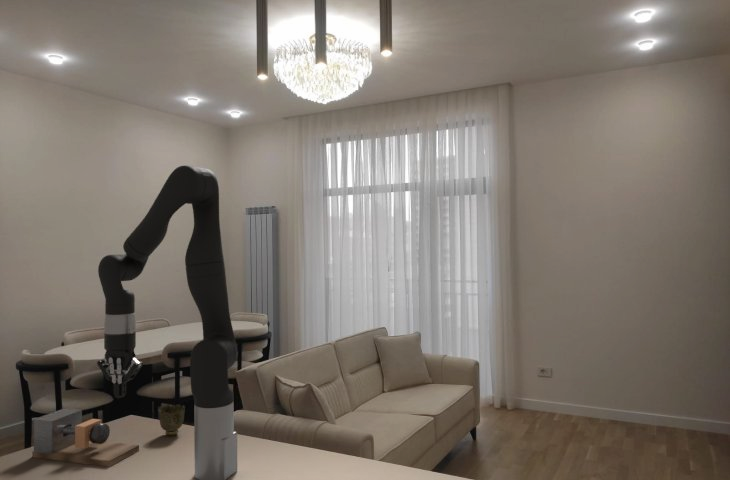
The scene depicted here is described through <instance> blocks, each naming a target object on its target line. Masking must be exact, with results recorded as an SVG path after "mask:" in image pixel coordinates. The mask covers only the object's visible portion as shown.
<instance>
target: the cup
mask: <svg viewBox="0 0 730 480" xmlns="http://www.w3.org/2000/svg"><path fill="white" fill-rule="evenodd" d="M185 408H186V405H184V404H183V405H182V404H178V403H177V404H176V405H174V404H172V405H170V404H166V405H165V406H164V405H162V406H161V408H158V410H157V411H158V418H159V425H160V427H161V429H162V430H164V431H165V432H164V434H165V436H166V437H173V436H174V437H175V436H177V435H178V433H179V429H180V428H181V427H182V426H183V423H184V419H185Z"/></svg>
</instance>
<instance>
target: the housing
mask: <svg viewBox="0 0 730 480" xmlns="http://www.w3.org/2000/svg"><path fill="white" fill-rule="evenodd" d="M81 423H83V409H76V408H64V407H63V408H61V409H59V410H56V411H53V412H51V413H47V414H45V415H42V416H39V417H37V418H34V419H33V451H34V452H41V453H49V454H53V453H55V452H57V451H60V450H62V449H64V448H66V447H68V446H71V445H73V444H75V435H70V434H64V433H63V429H64V427H66V426H71V427H75V426H76V425H79V424H81Z"/></svg>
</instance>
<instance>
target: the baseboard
mask: <svg viewBox="0 0 730 480" xmlns="http://www.w3.org/2000/svg"><path fill="white" fill-rule="evenodd" d="M139 451H140V445H139V444H132V443H131V444H130V443H122V442H115V441H113V442H112V441H107V440H106V441H105V442H104V443H103V444H96V443H92V442H91V441H89V447H87V448H76V447H75V444H73V445H71V446H68V447H66V448H64V449H62V450H60V451H57V452H55V453H53V454H49V453H41V452H34V450H32V453H31V455H32V458H35V457H36V458H37V459H44V460H51V461H52V460H53V461H60V462H67V463H77V464H82V465H83V464H84V465H93V466H99V467H107V468H108V467H112V466H114V465H115V464H117V463H119V462H121V461H123V460H125V459H127V458H128V457H130V456H132V455H134V454H136V453H137V452H139Z"/></svg>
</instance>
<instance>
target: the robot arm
mask: <svg viewBox="0 0 730 480" xmlns="http://www.w3.org/2000/svg"><path fill="white" fill-rule="evenodd" d="M219 189H220V187H219V182H218V179H217V176H216V174H215V173H214V172H213V171H212V170H210V169H208V168H205V167H200V166H194V165H180V166H177V167H176V168H175V169H174V170H173V171H172V172H171V173H170V174H169V176H168V177H167V179H166V180H165V183H164V184H163V186H162V187H161V190H160V191H159V193H158V194H157V196H156V198H155V199H154V202H153V204H151V206H150V208H149V210H148V211H147V213H146V215H144V217H143V219H142V220H141V221H140V223H138V225H137V226H136V227H135V228H134V230H132V232H131V233H130V234H129V235H128V237H127V238H126V239H125V241H124V242H123V245H122V247H123V250H124V252H125V254H108V255H106V256H104V257H102V259H101V260H100V261H99V264H98V270H97V273H98V278H99V281H100V285H101V289H102V291H103V295H104V297H105V304H104V306H105V308H104V310H105V311H104V312H105V314H104V316H105V317H104V324H103V327H104V328H103V329H104V330H103V331H104V332H103V337H104V340H103V342H104V343H103V345H104V347H103V348H104V350H105V352H104V357H103V358H102V359H100V360H97V362H96V364H97V367H99V369H100V371H101V372H102V374H103V376H104V377H105V379H106V380H107V381H110V382H112V383H113V395H114V398H115V399H116V398H117V399H121V398H124V397H125V396H126V394H127V382H129V381H132V380H134V379H135V377H136V376H137V374H138V373H139V371H140V370H141V368H142V367H143V365H144V362H143V361H139V360H138V359H137V358H136V356H137V355H136V353H135V348H136V347H137V346H136V343H137V342H136V340H137V338H136V336H137V334H136V333H137V330H136V329H137V325H136V322H137V320H136V314H135V312H136V309H135V302H136V301H135V293H134V292H133V291H131V290H128V289H124V286H123V284H122V282H130V281H133V280H135V279H137V278H138V277H139V276H140V275H141V274H142V272H143V271H144V269H145V266H146V264H147V263H148V260H149V257H150V256H151V255H152V254H153V253H154V252H155V250H156V249H157V248H158V247H159V246H160V244H162V242H163V240H164V239H165V237H166V235H167V233H168V228H169V224H170V221H171V219H172V217H173V216H174V214H175V213H176V212H177V211H179V209H180V208H182V207H183V206H185V205H186V204H188V205H191V206H192V213H193V228H192V233H191V236H190V239H189V241H188V242H189V243H188V245H187V248H186V252H185V256H184V258H185V259H184V263H185V266H184V267H185V273H186V282H187V286H188V290H189V293H190V295H191V297H192V299H193V301H194V303H195V305H196V307H197V309H198V311H199V315H200V318H201V324H202V336H203V337H202V340H200V341H199V342H197V343H196V344H195V345H194V346H193V348H192V349H191V350H192V351H191V353H190V358H189V372H190V373H189V374H190V391H191V394H192V396H193V401H194V404H193V405H194V409H193V412H194V420H193V421H194V423H193V424H194V429H193V430H194V478H195V479H196V480H227V479H228V478H230V477H231V476H233V475H234V474H235V473H236V472H237V471H238V432H237V431H235V428H234V427H235V426H234V425H235V424H234V423H235V422H234V421H235V420H234V418H235V417H234V416H235V415H234V410H235V409H234V408H235V406H234V405H235V404H234V400H235V399H234V398H235V397H234V396H235V395H234V390H233V389H232V388H231V387H230V386H229V369H231V368H232V366H234V364H235V363H236V361H237V358H238V346H237V342H236V337H235V333H234V328H233V325H232V320H231V314H230V306H229V296H228V295H229V294H228V293H229V292H228V287H227V274H226V265H225V259H224V253H223V252H224V251H223V246H222V245H223V244H222V243H223V242H222V235H221V233H222V232H221V223H220V190H219Z"/></svg>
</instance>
